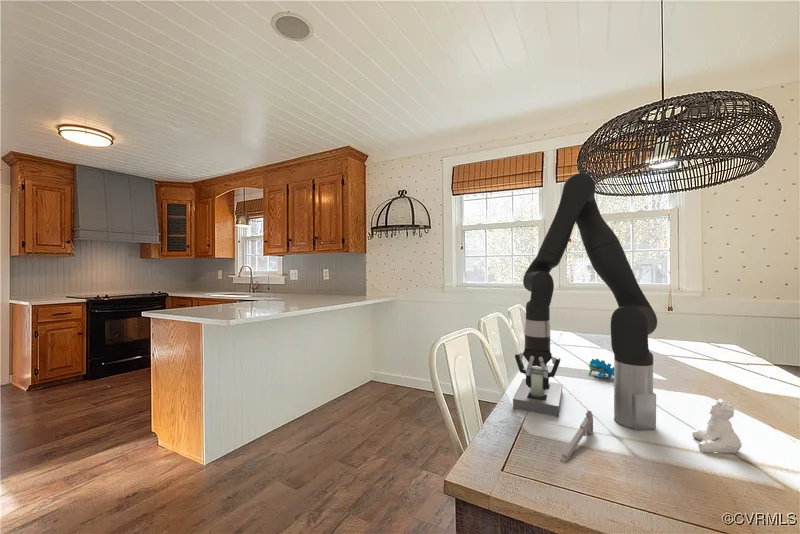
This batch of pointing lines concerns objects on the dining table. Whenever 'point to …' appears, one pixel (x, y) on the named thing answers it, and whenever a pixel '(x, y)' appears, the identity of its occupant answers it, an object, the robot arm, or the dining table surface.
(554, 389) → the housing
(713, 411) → the white creature statuette
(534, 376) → the pale green canister
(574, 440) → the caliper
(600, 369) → the blue spiky dinosaur toy
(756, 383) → the dining table surface
